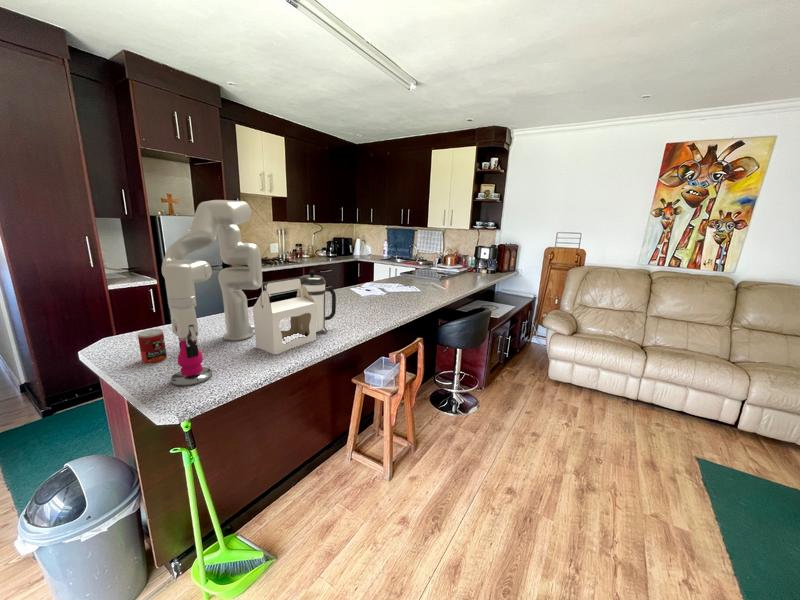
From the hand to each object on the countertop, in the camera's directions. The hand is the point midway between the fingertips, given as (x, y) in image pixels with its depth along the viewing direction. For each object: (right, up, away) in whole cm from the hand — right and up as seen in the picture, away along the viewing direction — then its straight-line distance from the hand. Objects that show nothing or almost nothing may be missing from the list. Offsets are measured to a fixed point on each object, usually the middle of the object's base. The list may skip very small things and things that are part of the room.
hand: (189, 353), depth 111 cm
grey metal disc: (0, -9, +2) cm, 9 cm away
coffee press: (+28, +3, +51) cm, 58 cm away
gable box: (+21, -1, +35) cm, 41 cm away
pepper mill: (0, -7, +2) cm, 7 cm away
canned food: (-23, -5, +15) cm, 28 cm away
